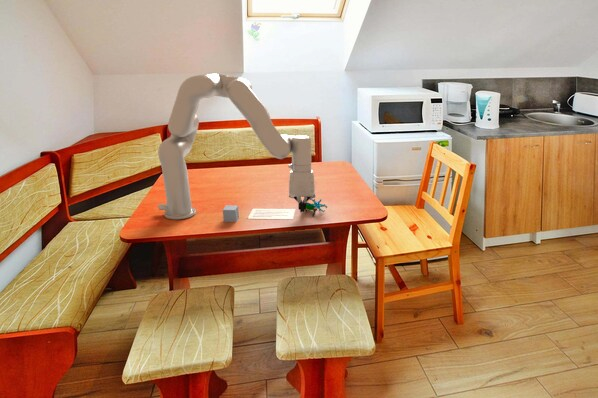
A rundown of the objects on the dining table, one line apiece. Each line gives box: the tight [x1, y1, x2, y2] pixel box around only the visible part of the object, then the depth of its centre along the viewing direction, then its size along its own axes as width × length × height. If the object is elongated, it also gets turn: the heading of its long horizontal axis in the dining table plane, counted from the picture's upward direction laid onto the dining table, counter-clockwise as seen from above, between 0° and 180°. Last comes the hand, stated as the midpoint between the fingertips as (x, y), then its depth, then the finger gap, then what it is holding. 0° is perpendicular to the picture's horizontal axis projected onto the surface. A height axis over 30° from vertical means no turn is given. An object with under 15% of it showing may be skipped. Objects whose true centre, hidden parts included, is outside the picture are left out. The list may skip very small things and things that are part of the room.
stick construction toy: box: [304, 198, 328, 218], centre depth 171 cm, size 12×7×8 cm
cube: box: [222, 204, 240, 223], centre depth 167 cm, size 5×5×5 cm
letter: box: [247, 208, 296, 220], centre depth 172 cm, size 18×11×1 cm, turn 85°
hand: (302, 211), depth 171 cm, fingers closed
